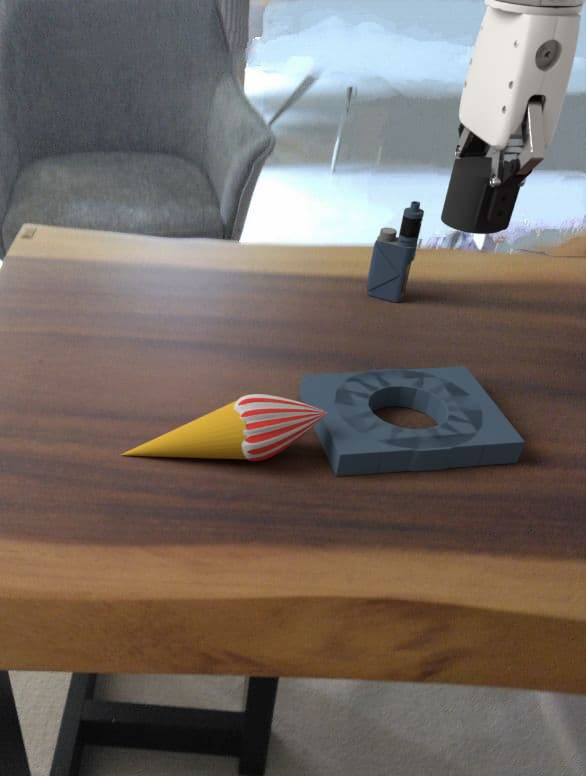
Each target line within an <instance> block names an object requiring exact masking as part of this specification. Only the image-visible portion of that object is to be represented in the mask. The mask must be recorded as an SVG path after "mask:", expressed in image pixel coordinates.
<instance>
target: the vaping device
mask: <svg viewBox="0 0 586 776" xmlns="http://www.w3.org/2000/svg"><path fill="white" fill-rule="evenodd" d="M420 206H421V202H420V201H416V200H413V201H411V203H410V207H405V208H403V209H404V210H403V214H402V219H401V224H400V227H399V233H398V231H397V230H396V228H393V227H382V228H380V231H379V235H378V236H377V237H376V240H375V241H374V242H373V243H374V244H373V249H372V253H371V259H370V265H369V270H368V275H367V280H366V287H365V288H366V293H367V295H368V296H370V297H373V298H375V299H381V300H383V301H384V300H385V301H387V302H391V303H392V302H393V303H400V302H402V301H403V300H404V298H405V293H406V290H407V285H408V284H407V283H408V280H409V275H410V271H411V267H412V266H411V265H412V262H413V261H414V260H415V257H416V256H417V254H416V252H417V247H418V243H419V242H418V241H419V236H420V233H421V229H422V223H423V218H424V215H425V211H424V209H422V208H420ZM397 235H398V236H397Z"/></svg>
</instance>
